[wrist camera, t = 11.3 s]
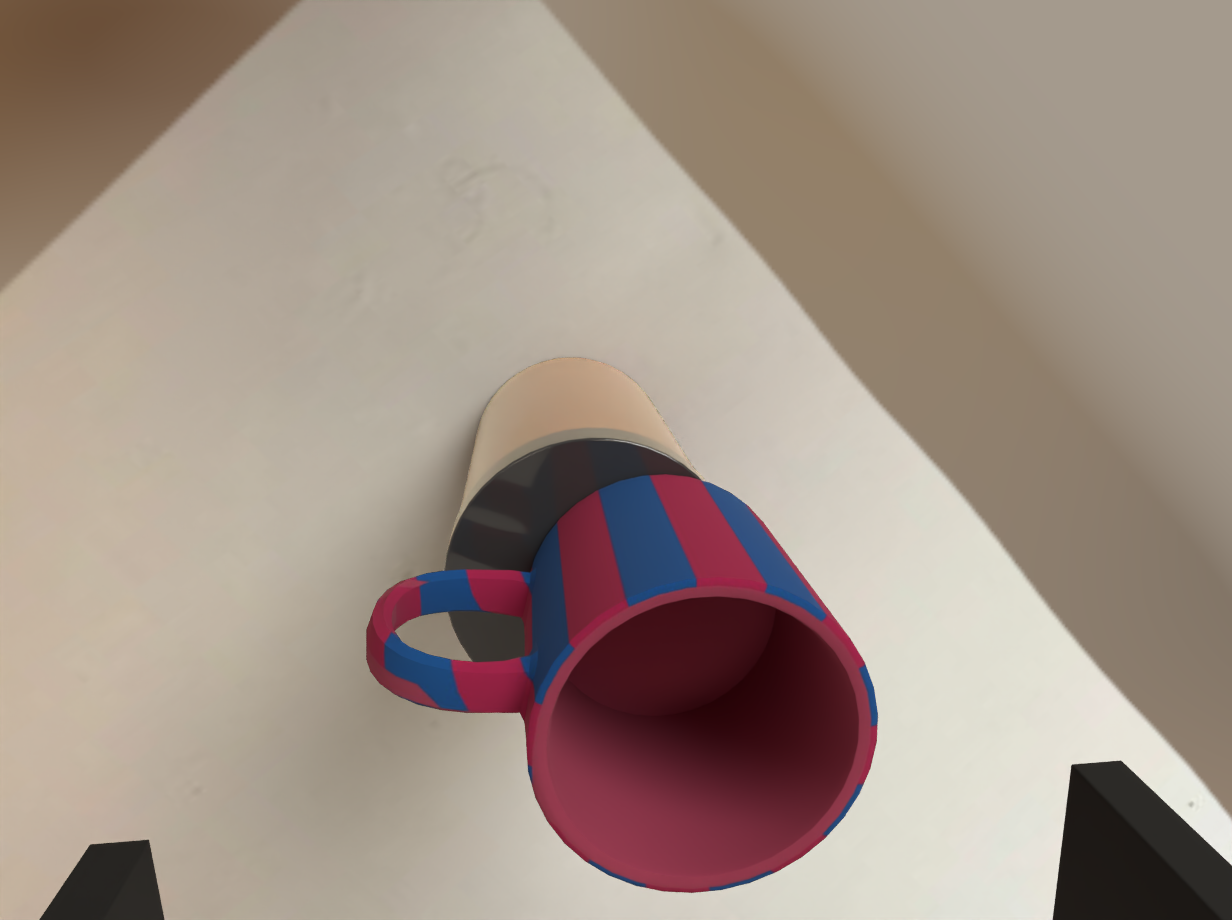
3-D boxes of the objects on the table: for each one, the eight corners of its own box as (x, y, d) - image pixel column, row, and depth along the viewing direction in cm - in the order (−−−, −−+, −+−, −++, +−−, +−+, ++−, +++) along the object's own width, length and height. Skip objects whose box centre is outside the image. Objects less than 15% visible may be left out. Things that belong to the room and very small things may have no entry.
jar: (466, 358, 35) (432, 445, 22) (666, 350, 36) (742, 430, 23) (479, 547, 37) (454, 725, 24) (668, 536, 38) (739, 705, 25)
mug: (728, 740, 25) (799, 926, 19) (367, 641, 24) (306, 809, 17) (823, 518, 24) (935, 636, 17) (444, 396, 22) (410, 476, 16)
